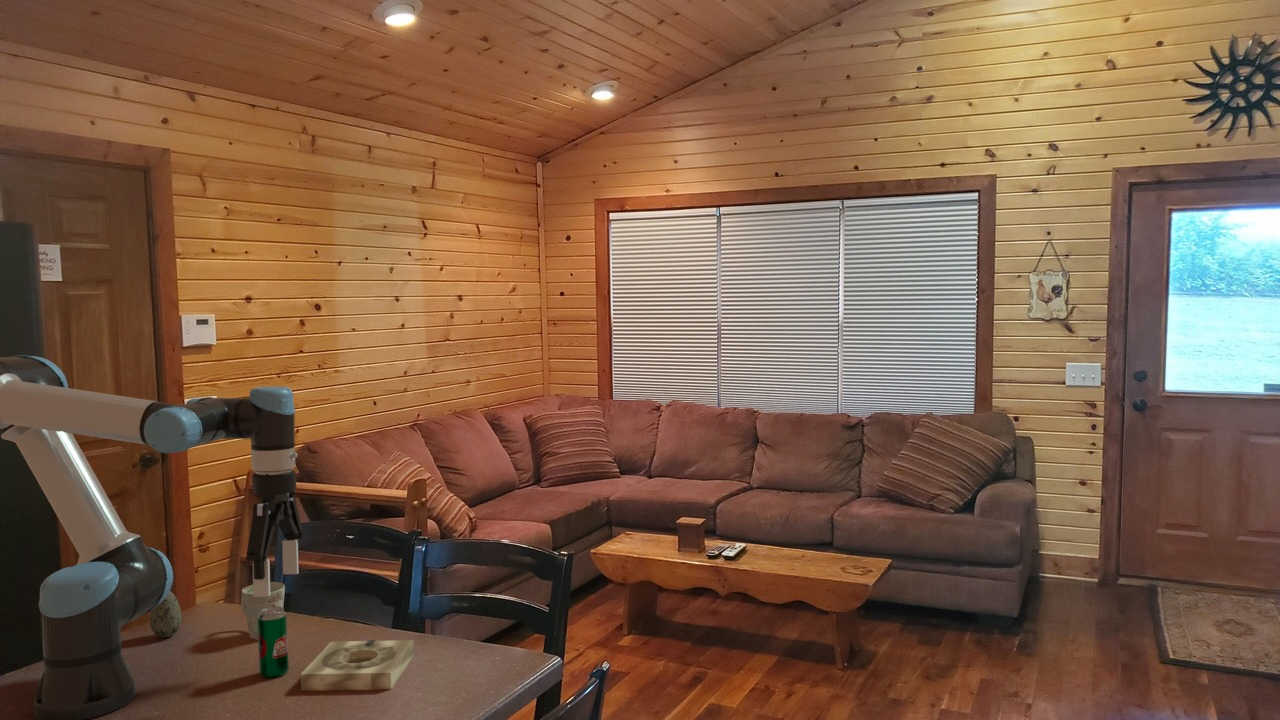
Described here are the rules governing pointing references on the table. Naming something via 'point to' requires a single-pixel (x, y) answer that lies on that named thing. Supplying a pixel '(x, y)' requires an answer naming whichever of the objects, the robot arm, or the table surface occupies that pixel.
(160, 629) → the decorative egg
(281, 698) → the table surface
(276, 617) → the soda can
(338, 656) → the hub block
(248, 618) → the mug
